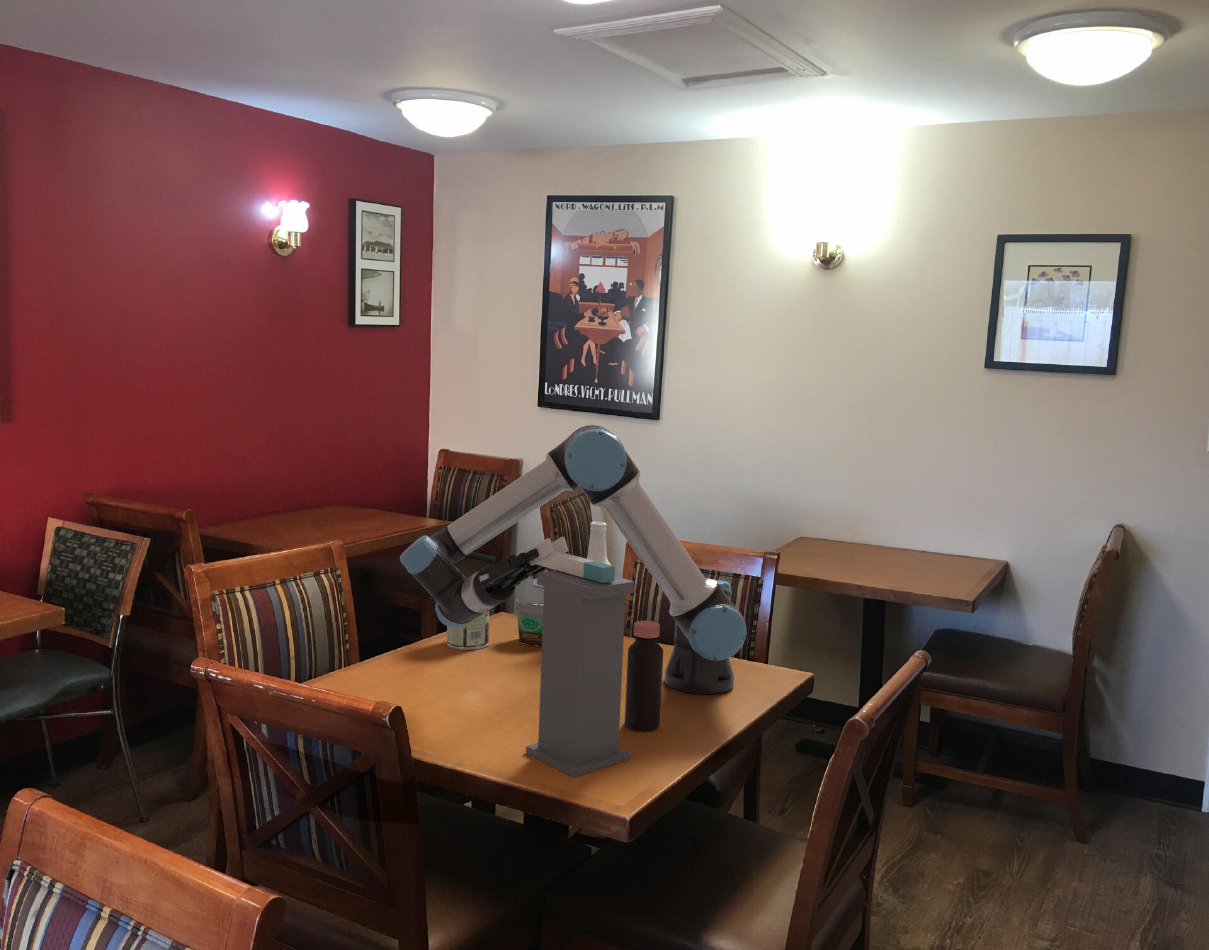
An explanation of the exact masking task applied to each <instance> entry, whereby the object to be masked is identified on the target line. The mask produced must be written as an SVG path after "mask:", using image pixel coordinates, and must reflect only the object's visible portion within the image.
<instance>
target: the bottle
mask: <svg viewBox="0 0 1209 950" xmlns="http://www.w3.org/2000/svg"><path fill="white" fill-rule="evenodd" d="M660 626H661V624H660V623H659V622H656V621H652V620H638V621H635V622H634V623H633V638H634V642H632V643H631V645H629V647H628V648H627V664H626V665H627V666H626V667H627V668H626V669H627V670H626V685H625V707H624V708H625V710H624V725H625V726H626V727H627V728H629V729H630V730H633V731H637V732H638V731H639V732H651V731H654V730H655V731H656V730H657V729H658V728H660V722H661V708H662V707H661V705H662V685H663V682H662V681H663V664H664V649H663V648H662V646H661V645H660V644H659V643H658V639H660V629H661V627H660Z"/></svg>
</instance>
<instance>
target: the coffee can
mask: <svg viewBox="0 0 1209 950" xmlns="http://www.w3.org/2000/svg"><path fill="white" fill-rule="evenodd" d="M446 629H447V630H446V646H447V647H449V648H451V649H454V650H463V651H472V650H482V649H485V648H487V647H488V646H489V644H490V643H489V642H490V641H489V637H490V634H489V633H490V612H489V613H488V614H485V613H483V614H481V615H480V616H478V617H477V618H475V619H474V620H472V621H471V622H469V623H467V624H464V625H462V626H460V627H449V626H446Z"/></svg>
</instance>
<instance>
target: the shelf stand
mask: <svg viewBox="0 0 1209 950" xmlns="http://www.w3.org/2000/svg"><path fill="white" fill-rule="evenodd" d="M536 584H537V585H539V586H542V587H543V630H542V646H541V660H540V661H541V663H540V685H539V687H540V690H539V713H538V714H539V715H538V716H539V717H538V736H537V738H538V740H537V742H536V743H533V744H530V745H526V746H525V753H526V754H528V755H529V756H531V757H533V758H535V759H537V760H540V762H541V761H542V762H543V763H545V764H547V765H549V766H551V767H552V768H555V769H556V770H559V771H560V772H562V773H564V774H567V775H568V776H571V777H572V778H575V777H577V776H581V775H584V774H588V773H591V772H594V771H597V770H600V769H603V768H607V767H610V766H612V765H616V764H619V763H623V762H626V761H628V760H630V759H631V752H630V751H627V750H625V749H624V748H622V747H619V745H620V724H621V723H620V722H621V721H620V720H621V702H622V683H623V681H622V680H623V662H624V661H623V660H624V659H623V658H624V656H623V655H624V640H625V639H624V637H625V618H626V616H625V615H626V611H625V610H626V595H630V594H631V595H632V594H634V593H635V581H634V580H630V579H626V578H623V577H619V576H616V575H615V576H614V582H607V583H600V582H597V581H593V580H590V579H586V578H583V577H579V576H576V575H572V574H569V573H565V572H562V571H558V570H550V571H548V570H547V571H545V572H540V573H537V579H536Z"/></svg>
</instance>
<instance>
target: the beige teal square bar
mask: <svg viewBox="0 0 1209 950" xmlns="http://www.w3.org/2000/svg"><path fill="white" fill-rule="evenodd" d="M533 547H534V546H527V547H526V552H525V553H527V551H528V550H530V549H531V548H533ZM536 564H537V565H540V566H544V567H547V568H549V569H551V570H553V571H555V570H558V571H562V572H565V573H569V574H572V575H576V576H579V577H583V578H586V579H590V580H593V581H597V582H600V583H607V582H614V576H616V575H615V573H616V572H615V571H616V570H615V569H616V566H615V565H612V564H611V565H608V564H604V563H601V562H597V561H593V560H589V559H587V558H585V557H581V556H577V555H573V554H570V553H567V552H566V553H562V552H558V551H554V553H553V554H551V555H549V556H548V557H546V558H545V559H543V560H541V561H540V562H538V563H536Z"/></svg>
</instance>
